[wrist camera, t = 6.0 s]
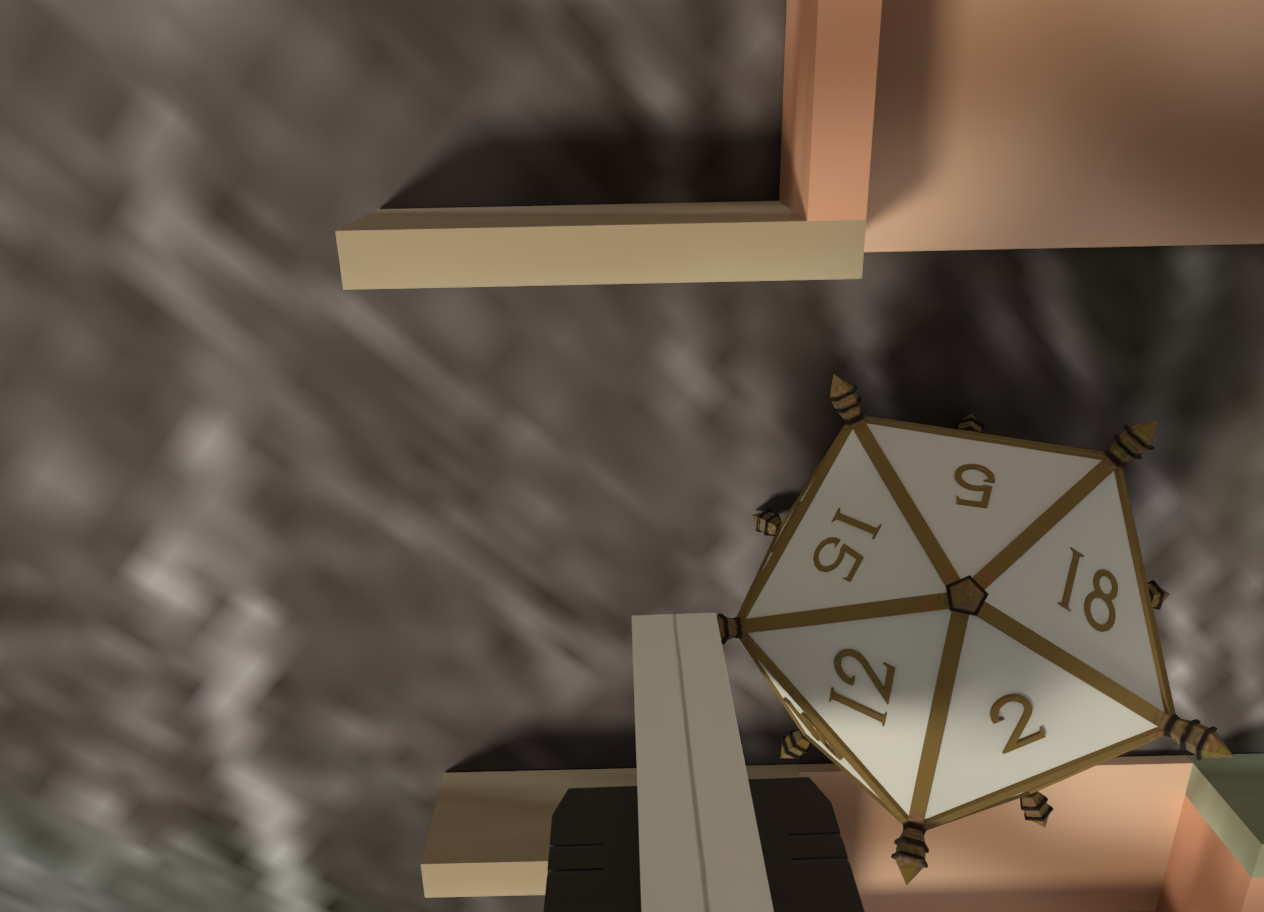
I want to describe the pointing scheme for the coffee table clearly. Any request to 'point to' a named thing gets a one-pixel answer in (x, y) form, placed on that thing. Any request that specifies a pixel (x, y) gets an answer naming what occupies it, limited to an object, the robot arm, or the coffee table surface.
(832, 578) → the game die
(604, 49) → the coffee table surface
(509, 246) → the trap box
